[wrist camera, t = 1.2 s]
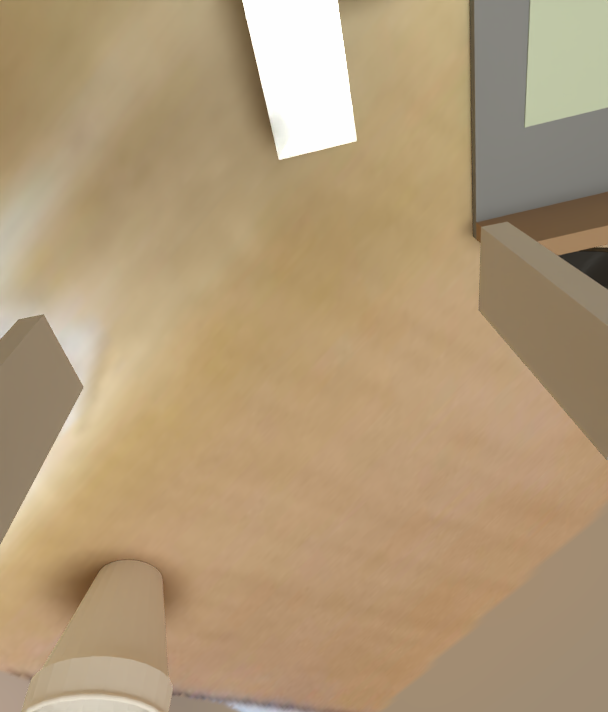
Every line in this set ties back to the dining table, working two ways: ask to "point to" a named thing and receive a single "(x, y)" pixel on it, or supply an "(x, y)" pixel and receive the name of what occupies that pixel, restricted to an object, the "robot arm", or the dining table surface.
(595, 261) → the dark sector wedge
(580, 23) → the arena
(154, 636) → the cup
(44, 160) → the dining table surface
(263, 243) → the dining table surface
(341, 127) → the bracket
